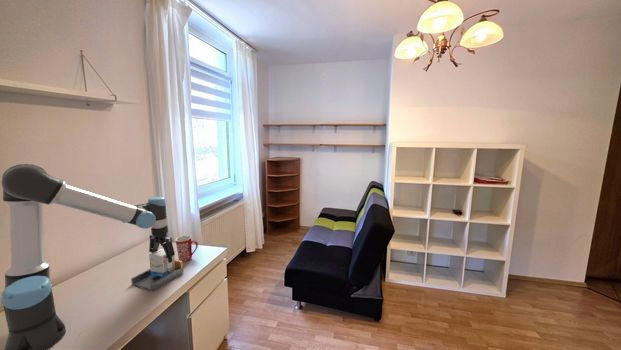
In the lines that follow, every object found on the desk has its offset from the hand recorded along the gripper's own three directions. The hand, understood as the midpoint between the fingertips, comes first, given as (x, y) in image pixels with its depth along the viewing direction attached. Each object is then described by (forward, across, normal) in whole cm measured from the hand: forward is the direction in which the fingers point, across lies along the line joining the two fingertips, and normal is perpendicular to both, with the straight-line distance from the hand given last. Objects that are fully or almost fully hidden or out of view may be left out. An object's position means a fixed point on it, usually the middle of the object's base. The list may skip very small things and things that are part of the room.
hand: (163, 266), depth 136 cm
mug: (+6, +3, -19) cm, 20 cm away
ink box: (+4, 0, 0) cm, 4 cm away
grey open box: (+5, 0, +3) cm, 6 cm away
